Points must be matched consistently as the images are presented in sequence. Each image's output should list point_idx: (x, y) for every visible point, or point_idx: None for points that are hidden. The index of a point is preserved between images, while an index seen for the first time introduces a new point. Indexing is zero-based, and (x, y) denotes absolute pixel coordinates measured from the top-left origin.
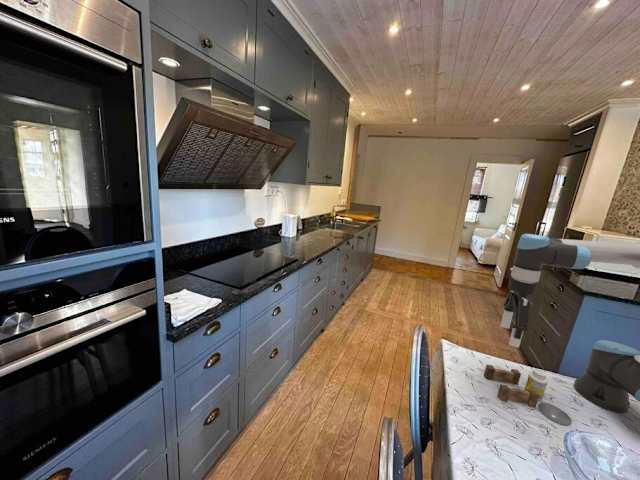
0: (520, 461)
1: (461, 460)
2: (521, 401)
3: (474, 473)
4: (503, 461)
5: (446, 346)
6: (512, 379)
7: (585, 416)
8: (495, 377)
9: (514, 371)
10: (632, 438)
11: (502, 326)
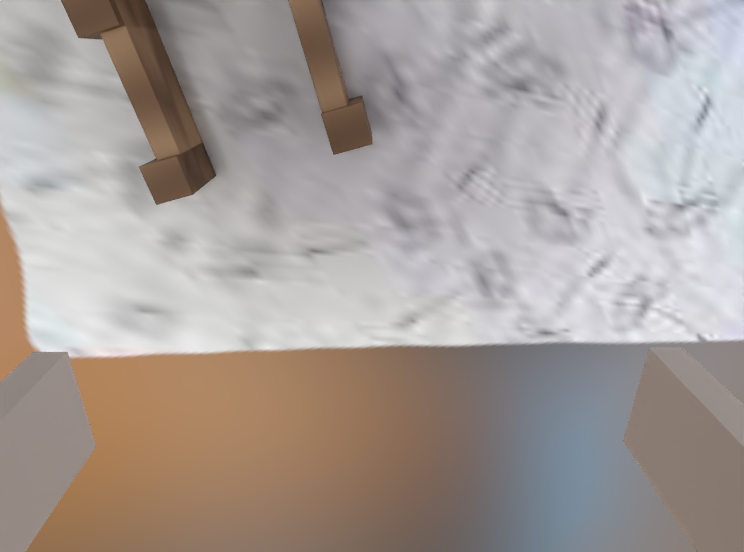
0: (724, 121)
1: None
2: (325, 15)
3: None
4: (740, 187)
5: None
6: (143, 28)
7: None
8: (190, 133)
9: (102, 21)
10: None
11: (85, 438)
